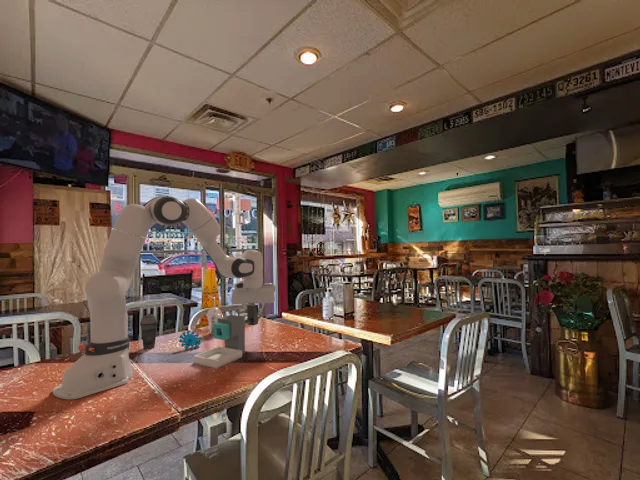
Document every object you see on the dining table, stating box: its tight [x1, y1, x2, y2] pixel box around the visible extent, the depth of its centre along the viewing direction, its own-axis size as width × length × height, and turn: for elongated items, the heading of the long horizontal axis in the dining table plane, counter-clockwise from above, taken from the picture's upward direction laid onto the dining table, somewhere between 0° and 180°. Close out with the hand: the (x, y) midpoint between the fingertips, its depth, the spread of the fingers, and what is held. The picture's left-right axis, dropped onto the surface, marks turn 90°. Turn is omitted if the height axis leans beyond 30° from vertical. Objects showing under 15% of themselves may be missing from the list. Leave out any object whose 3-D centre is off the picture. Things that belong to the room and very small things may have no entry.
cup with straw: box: [205, 295, 224, 335], centre depth 171 cm, size 8×9×20 cm
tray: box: [192, 345, 243, 370], centre depth 129 cm, size 14×13×3 cm
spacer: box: [213, 322, 230, 341], centre depth 131 cm, size 3×6×6 cm, turn 62°
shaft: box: [219, 304, 259, 333], centre depth 140 cm, size 22×4×9 cm, turn 152°
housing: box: [218, 314, 246, 355], centre depth 136 cm, size 8×8×16 cm
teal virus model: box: [178, 329, 204, 351], centre depth 147 cm, size 11×6×10 cm
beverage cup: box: [139, 304, 159, 350], centre depth 146 cm, size 7×7×20 cm
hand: (253, 312), depth 149 cm, fingers open, 5 cm apart
